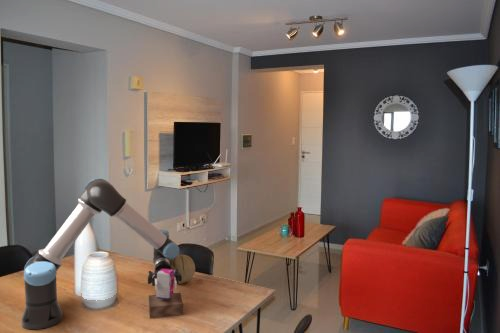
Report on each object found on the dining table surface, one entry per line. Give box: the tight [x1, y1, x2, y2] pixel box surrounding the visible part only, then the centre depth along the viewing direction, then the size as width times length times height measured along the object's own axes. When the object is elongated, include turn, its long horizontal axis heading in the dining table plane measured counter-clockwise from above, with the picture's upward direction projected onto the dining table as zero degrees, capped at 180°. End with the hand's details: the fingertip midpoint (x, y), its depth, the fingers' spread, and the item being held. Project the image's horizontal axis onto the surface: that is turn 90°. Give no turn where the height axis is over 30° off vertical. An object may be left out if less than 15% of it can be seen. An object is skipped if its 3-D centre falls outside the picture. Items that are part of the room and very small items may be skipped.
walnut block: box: [148, 292, 184, 319], centre depth 185 cm, size 14×12×5 cm
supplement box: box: [156, 269, 175, 299], centre depth 184 cm, size 6×6×12 cm
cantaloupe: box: [169, 252, 196, 285], centre depth 216 cm, size 15×15×15 cm
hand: (166, 286), depth 179 cm, fingers closed on supplement box, 7 cm apart
